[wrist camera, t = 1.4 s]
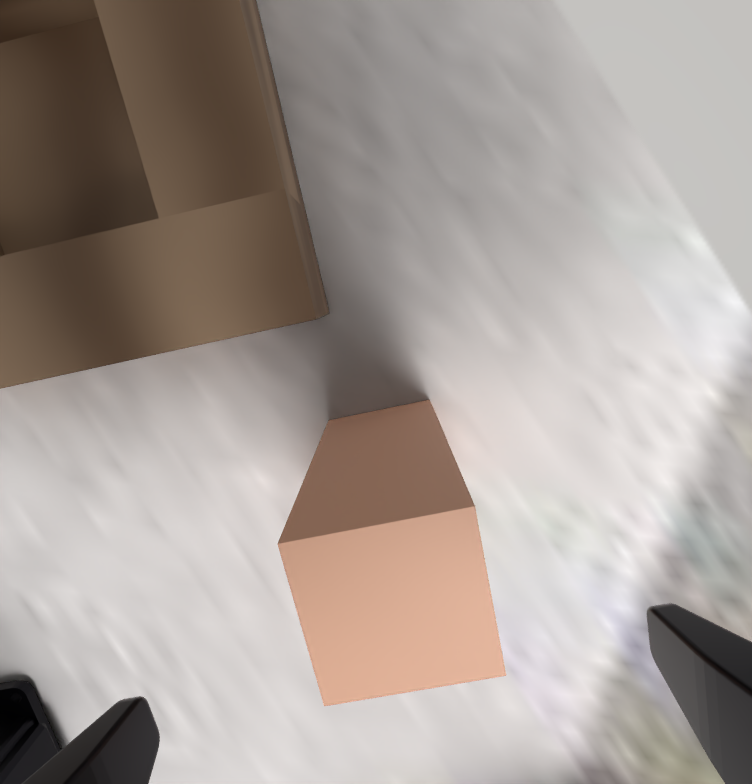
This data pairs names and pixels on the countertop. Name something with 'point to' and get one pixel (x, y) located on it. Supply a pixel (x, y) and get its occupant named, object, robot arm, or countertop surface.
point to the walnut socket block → (143, 184)
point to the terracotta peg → (389, 561)
